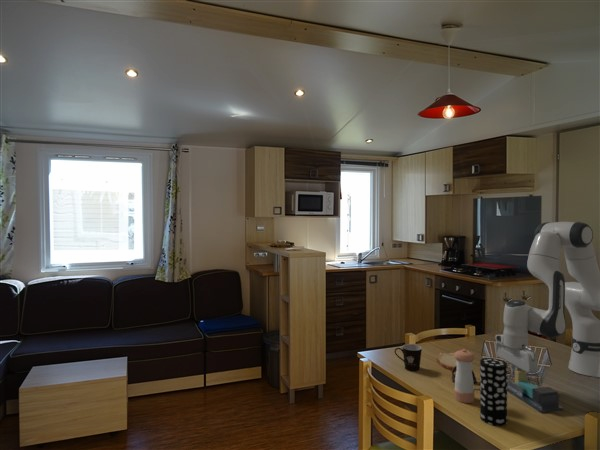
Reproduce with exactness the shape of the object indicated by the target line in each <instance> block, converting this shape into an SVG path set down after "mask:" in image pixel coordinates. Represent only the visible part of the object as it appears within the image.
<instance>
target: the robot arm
mask: <svg viewBox="0 0 600 450" xmlns="http://www.w3.org/2000/svg"><path fill="white" fill-rule="evenodd" d="M593 238H594V231H593V229H592V228H591V226H590V225H589V224H588V223H584V222H581V221H575V222H574V221H555V222H548V221H547V222H542V223H540V224H538V225H537V227H536V228H535V230H534V239H533V241H532V243H531V245H530V248H529V252H528V256H527V258H528V259H527V261H526V263H527V264H526V267H527V270H528V272H529V273H530V274H531V275H532V276H533V277H534V278H536V279H538V280H540V281H541V282H543V283H544V284H545V285H546V286H547V287H548V309H547V310H545V309H540V308H537V307H532V306H530V305H528V304H527V303H526V301H524V300H519V299H516V300H515V299H514V300H513V299H512V300H509V301H507V302H505V304H504V308H503V317H502V318H503V319H502V320H503V322H502V323H503V326H504V328H503V331H502V334H496V335H495V336H494V339H495V346H494V347H495V355H496V356H497V357H499V358H501V360H503V361H505V362H506V363H508V364H509V366H510V367H509V368H510V369H511V375H512V376H515V370H524V371H526V373H528V374H536V373H537V372H538V371H539V368H538V358H537V354H536V352H535V351H534V349H533V348H531V347H529V331H530V332H532V333H536V334H540V335H542V336H544V337H547V338H550V339H556V338H558V337H561V336H562V335H564V333H565V331H566V329H567V322H566V316H565V311H566V310H565V307H566V309H567V311H568V312H569V315H570V318H571V322H572V337H571V339H570V340H571V350H570V351H571V352H570V359H569V361H568V366H567V368H568V369H569V370H570V371H572V372H574V373H577V374H580V375H584V376H587V377H594V378H600V319H599V318H598V317H596V316H595V315H594V313H593V311H597V312H600V268H599V265H598V260H597V256H596V251H595V248H594V243H593ZM562 248H563V251H564V260H565V263H566V268H567V272H568V274H569V276H571V278H573V279H575V280H576V281H566V279H565V276H564V273H562V272H561V270H560V266H559V265H560V258H561V250H562ZM592 310H593V311H592Z"/></svg>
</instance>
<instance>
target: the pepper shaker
mask: <svg viewBox="0 0 600 450" xmlns="http://www.w3.org/2000/svg"><path fill="white" fill-rule="evenodd" d="M454 356H455V359H456V360H457V370H456V372H455V375H456V376H455V381H454V387H453V398H454V400H455V401H457V402H459V401H460V402H459V403H462V402H463V403H464V404H471V403H474V402H475V390H474V387H475V386H474V382H475V381H474V380H473V376H472V371H473V361H474V359H475V355H474V354H473V352H470V351H469V350H467V349H465V348H462V349H460V350H456V353H455V355H454ZM463 403H462V404H463Z"/></svg>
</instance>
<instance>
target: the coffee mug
mask: <svg viewBox="0 0 600 450" xmlns="http://www.w3.org/2000/svg"><path fill="white" fill-rule="evenodd" d="M422 349H423V348H422V346H421V345H418V344H415V343H414V344H413V343H407V344H403V345H402V347H401V348H400V347H396V348H395V349H394V354H395V356H396V357H397V358H398V359H399V360H401V361H402V362H403V363H404V369H405V370H406V371H410V372H418V371H420V367H421V359H422V351H423V350H422ZM397 350H400V351H401V352H402V355H403V358H402V357H401V356H400V355H398V353H397Z"/></svg>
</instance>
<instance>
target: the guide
mask: <svg viewBox="0 0 600 450" xmlns="http://www.w3.org/2000/svg"><path fill="white" fill-rule="evenodd" d="M507 393H509V394H511V395H513V396H514V397H515V398H517V399H519V400H520V401H522V402H524V403H525V404H526V405H528V406H530V407H531V408H533V409H534V410H536V411H537V412H539V413H541V414H544V413H545V414H546V413H552V412H563V411H564V409H565V408H564V407H563V406H561V405H560V403H559V399H560V394H558V393H559V392H558V391H557V390H556V389H554V388H552V387H550V386H545V387H539V388H533V389H532V398H531V397H529V396H527V395H526V394H524V387H522V386H520V385H519V384H517V383H515V380H512V379H507Z"/></svg>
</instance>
